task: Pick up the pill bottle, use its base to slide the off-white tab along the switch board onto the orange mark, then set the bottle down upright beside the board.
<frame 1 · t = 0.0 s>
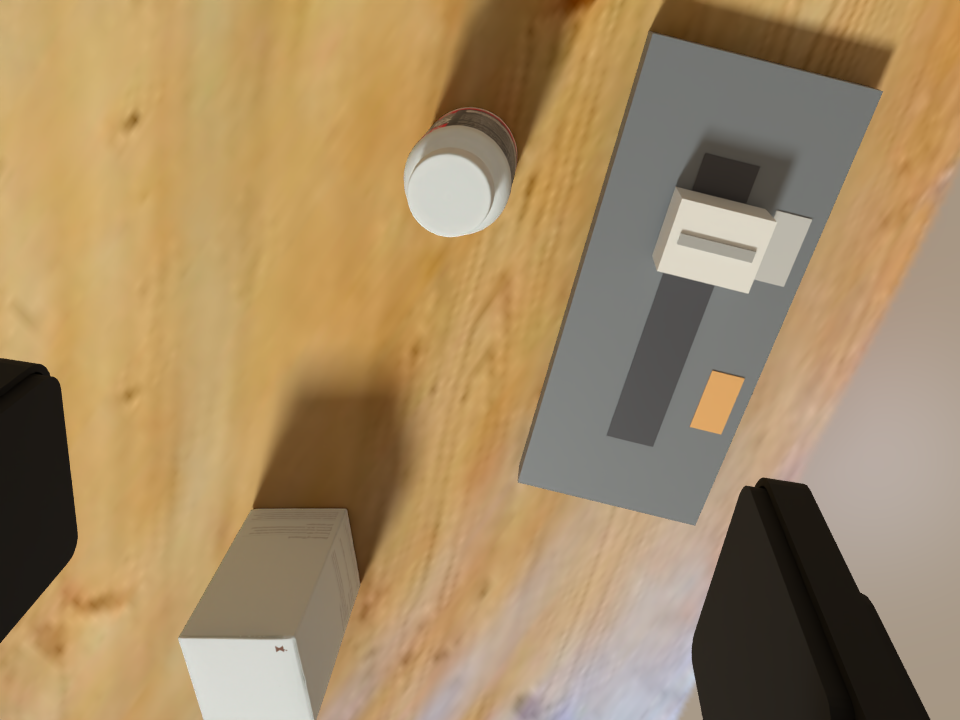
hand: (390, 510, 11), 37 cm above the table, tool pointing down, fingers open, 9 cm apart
supplement box: (307, 545, 59), on the table
switch tab: (712, 240, 43), point 4 cm above the table, slide at 0.0 cm
switch board: (672, 299, 48), on the table
pill bottle: (471, 154, 46), on the table
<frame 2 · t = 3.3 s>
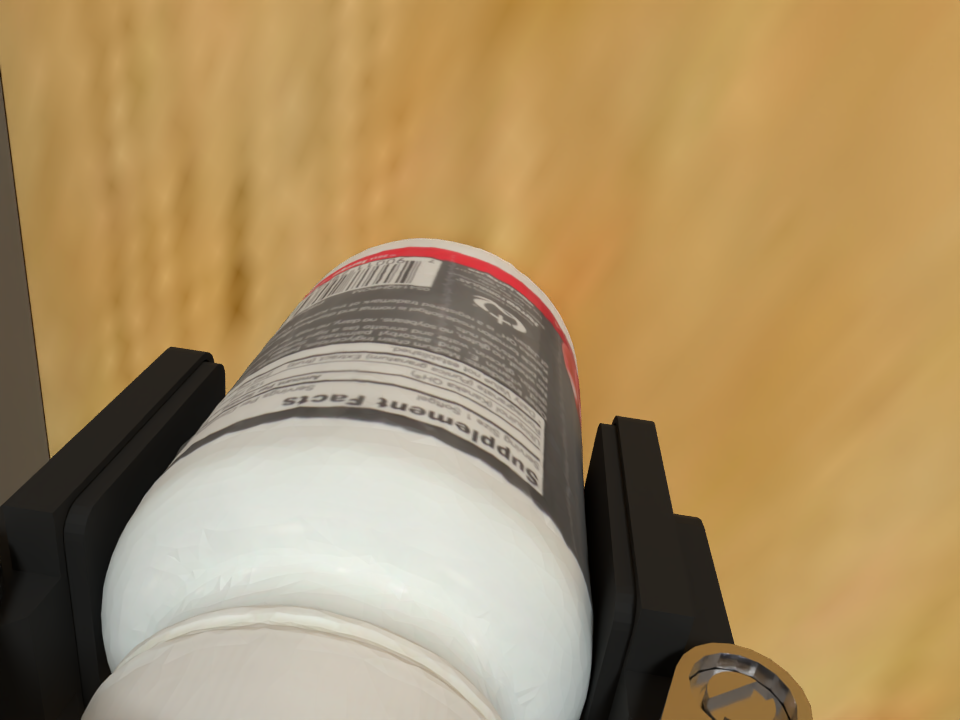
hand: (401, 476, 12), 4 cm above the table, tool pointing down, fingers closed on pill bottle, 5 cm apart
pill bottle: (436, 366, 15), on the table, touching gripper
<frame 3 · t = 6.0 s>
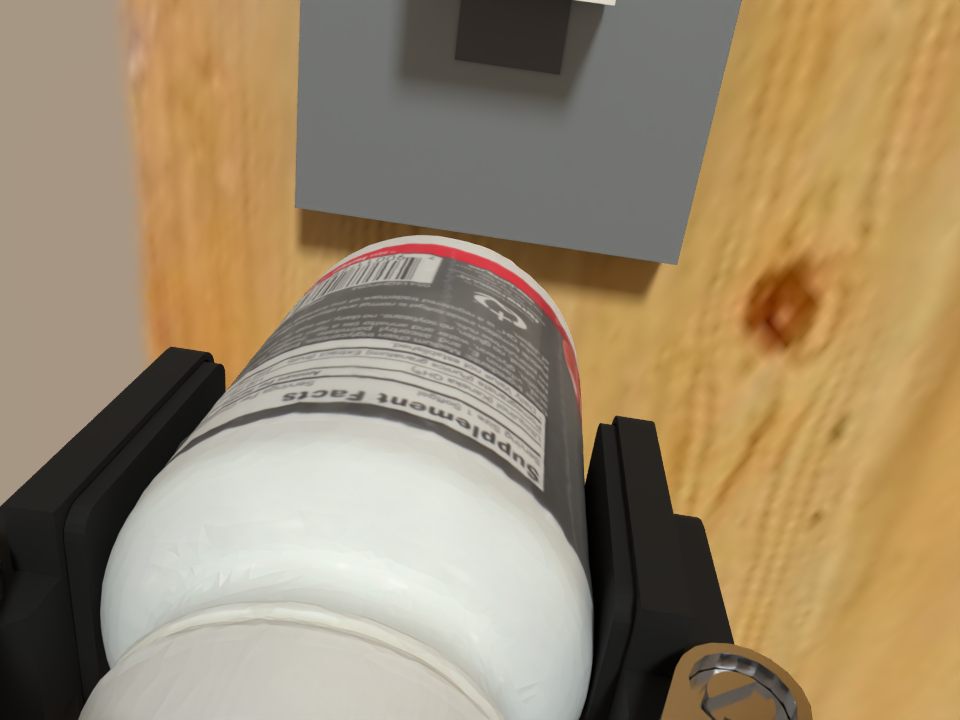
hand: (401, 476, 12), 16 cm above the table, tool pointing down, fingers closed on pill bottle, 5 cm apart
pill bottle: (436, 363, 15), point 13 cm above the table, touching gripper
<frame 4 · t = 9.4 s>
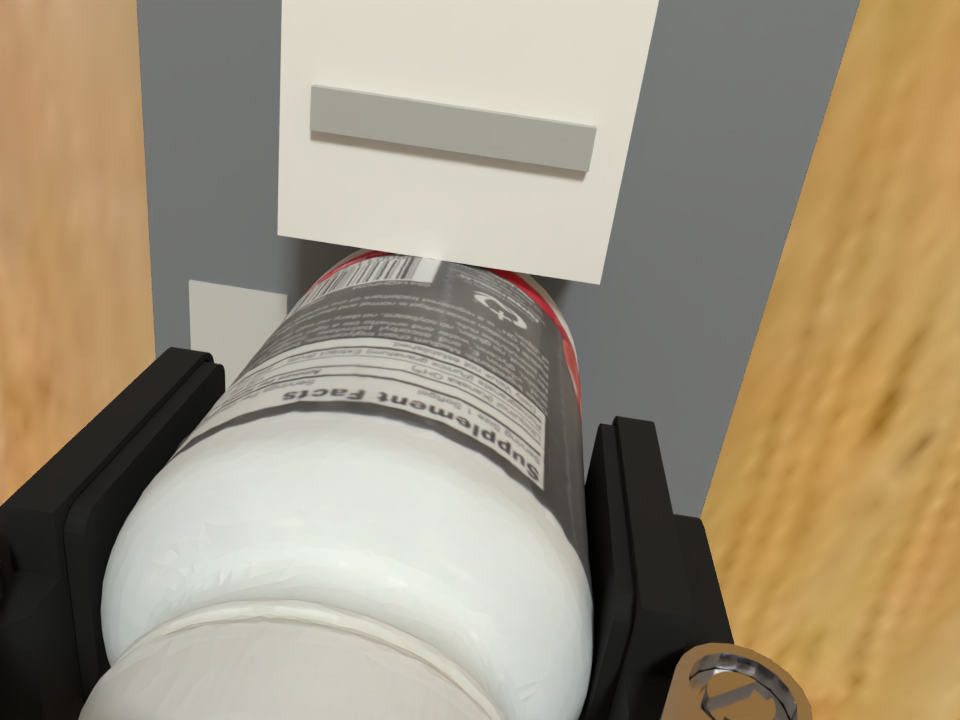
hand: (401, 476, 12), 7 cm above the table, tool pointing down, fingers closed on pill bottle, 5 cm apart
switch tab: (461, 113, 13), point 4 cm above the table, slide at 6.3 cm, touching pill bottle
switch board: (474, 148, 16), on the table
pill bottle: (436, 363, 15), point 3 cm above the table, touching gripper, switch tab
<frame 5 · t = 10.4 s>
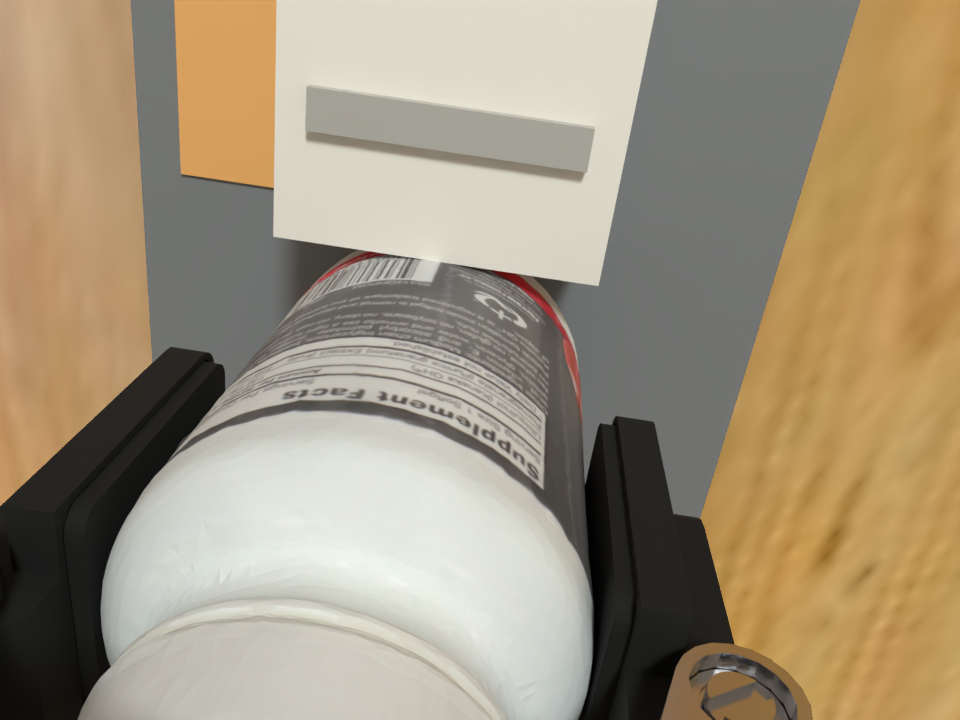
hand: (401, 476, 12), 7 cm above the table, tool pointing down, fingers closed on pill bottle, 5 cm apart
switch tab: (459, 113, 12), point 4 cm above the table, slide at 10.1 cm, touching pill bottle
switch board: (451, 319, 18), on the table
pill bottle: (437, 362, 15), point 3 cm above the table, touching gripper, switch tab
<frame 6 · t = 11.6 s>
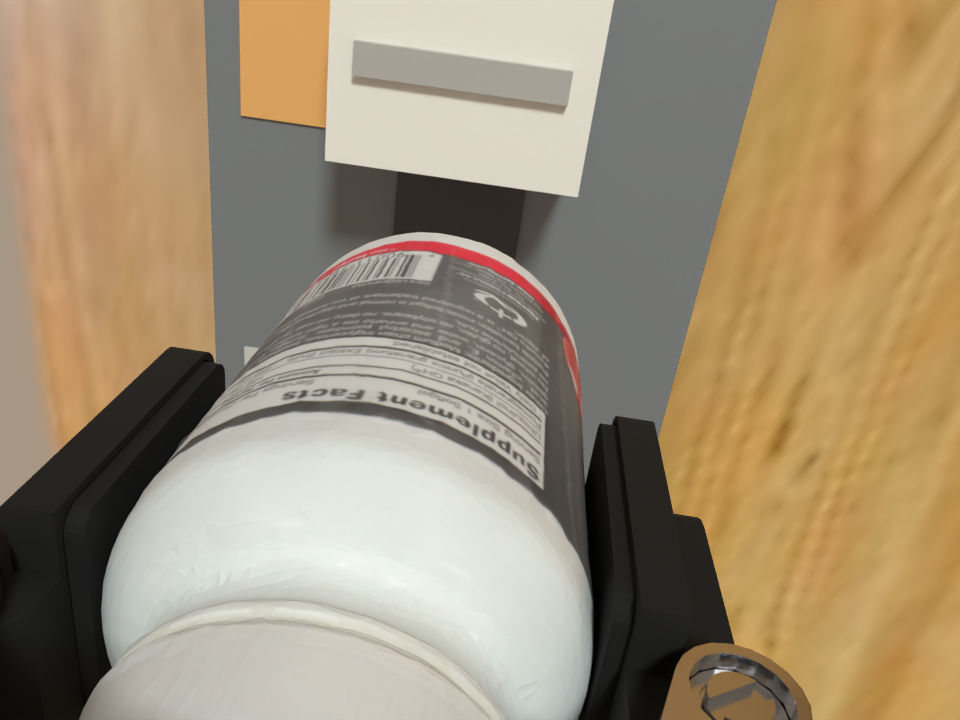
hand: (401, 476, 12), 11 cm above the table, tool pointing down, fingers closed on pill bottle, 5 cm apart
switch tab: (468, 63, 16), point 4 cm above the table, slide at 10.0 cm
switch board: (460, 242, 22), on the table
pill bottle: (437, 360, 15), point 7 cm above the table, touching gripper
when the fingers open (5 cm above the table, at t = 16.0 s): pill bottle drops 1 cm, on the table.
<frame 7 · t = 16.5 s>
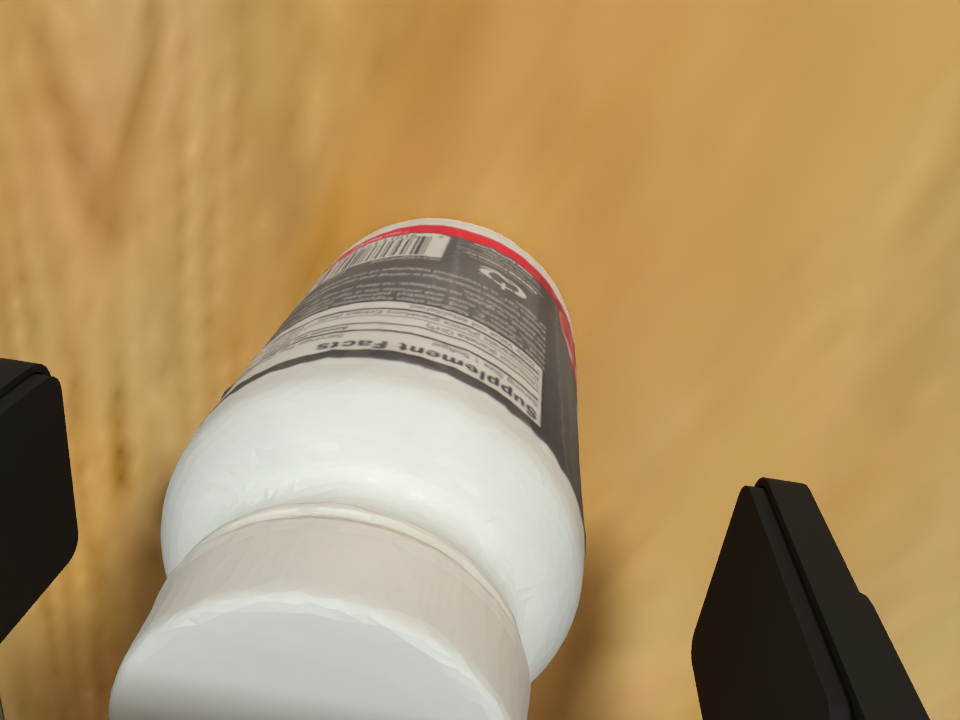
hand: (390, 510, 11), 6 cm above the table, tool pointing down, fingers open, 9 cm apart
pill bottle: (444, 337, 16), on the table
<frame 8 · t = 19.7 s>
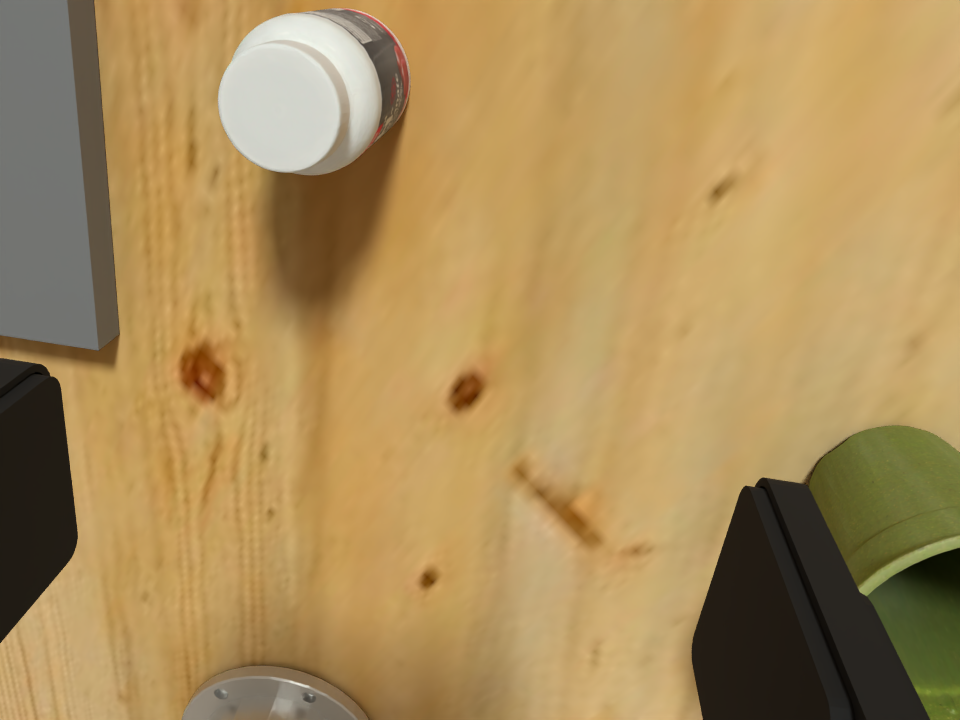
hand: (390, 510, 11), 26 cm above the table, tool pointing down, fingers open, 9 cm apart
plant pot: (878, 484, 40), on the table
pill bottle: (351, 75, 34), on the table
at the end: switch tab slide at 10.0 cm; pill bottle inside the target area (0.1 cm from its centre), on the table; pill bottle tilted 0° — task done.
